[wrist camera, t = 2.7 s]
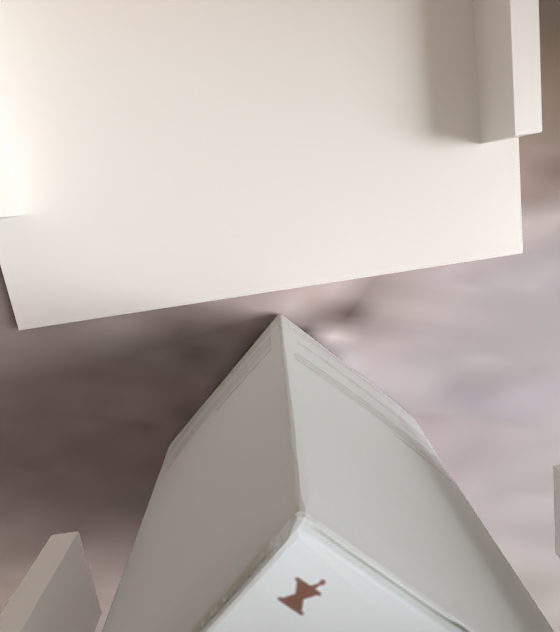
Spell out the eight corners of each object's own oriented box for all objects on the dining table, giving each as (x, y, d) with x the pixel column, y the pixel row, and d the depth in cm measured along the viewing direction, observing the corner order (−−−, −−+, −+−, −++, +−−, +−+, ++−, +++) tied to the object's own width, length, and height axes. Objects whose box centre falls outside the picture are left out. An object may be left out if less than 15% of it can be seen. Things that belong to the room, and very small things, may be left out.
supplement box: (163, 445, 21) (12, 816, 8) (280, 307, 19) (304, 503, 7) (302, 544, 22) (348, 993, 10) (420, 419, 21) (647, 753, 8)
